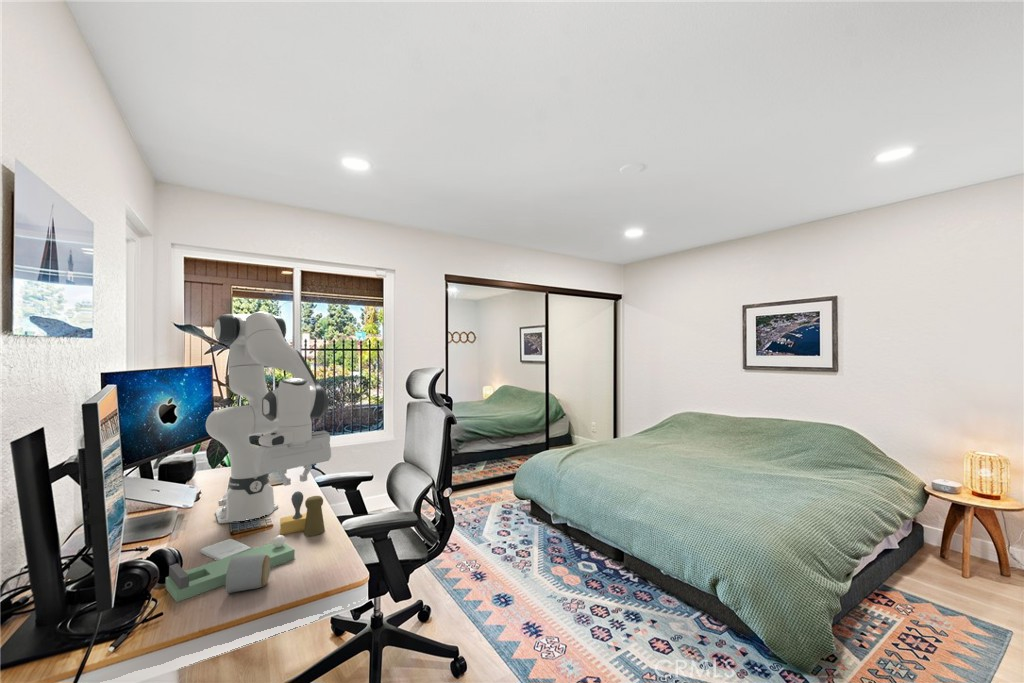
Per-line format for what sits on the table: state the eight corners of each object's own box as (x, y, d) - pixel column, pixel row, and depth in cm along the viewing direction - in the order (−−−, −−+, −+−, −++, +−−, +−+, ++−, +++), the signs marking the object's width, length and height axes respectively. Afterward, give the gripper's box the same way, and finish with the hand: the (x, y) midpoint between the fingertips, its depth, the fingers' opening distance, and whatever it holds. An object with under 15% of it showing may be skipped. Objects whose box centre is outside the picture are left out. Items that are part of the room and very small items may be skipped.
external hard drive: (231, 543, 129) (252, 552, 122) (200, 554, 122) (220, 564, 115) (231, 538, 129) (252, 546, 122) (200, 548, 122) (220, 558, 115)
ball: (270, 547, 118) (270, 536, 118) (282, 543, 120) (282, 532, 121) (275, 550, 116) (275, 539, 116) (287, 546, 118) (287, 535, 118)
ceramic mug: (265, 592, 100) (265, 558, 100) (224, 599, 97) (224, 565, 97) (274, 572, 110) (274, 541, 110) (237, 578, 107) (237, 547, 107)
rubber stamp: (280, 535, 133) (280, 496, 133) (280, 529, 138) (280, 491, 138) (315, 528, 138) (315, 491, 138) (314, 522, 143) (313, 486, 143)
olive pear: (316, 536, 131) (316, 500, 131) (299, 535, 132) (299, 499, 133) (329, 528, 137) (328, 494, 137) (312, 527, 138) (312, 493, 138)
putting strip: (165, 587, 103) (165, 566, 103) (279, 548, 123) (279, 531, 123) (176, 602, 96) (176, 579, 97) (294, 558, 116) (294, 540, 117)
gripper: (324, 428, 133) (325, 473, 132) (252, 439, 117) (252, 489, 117) (334, 430, 129) (335, 476, 128) (261, 441, 113) (261, 494, 113)
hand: (295, 482), depth 122 cm, fingers open, 3 cm apart
